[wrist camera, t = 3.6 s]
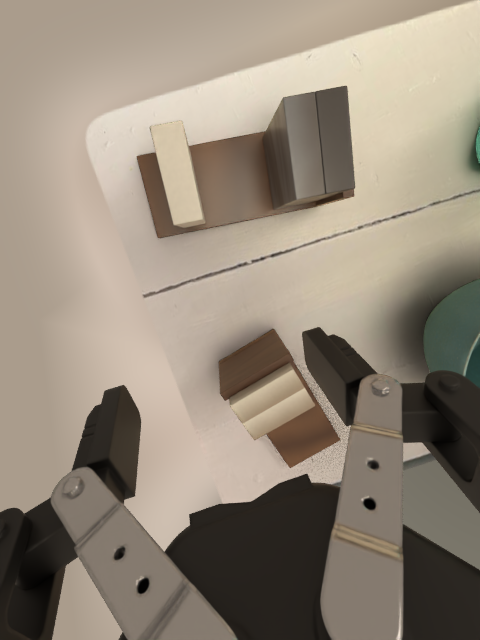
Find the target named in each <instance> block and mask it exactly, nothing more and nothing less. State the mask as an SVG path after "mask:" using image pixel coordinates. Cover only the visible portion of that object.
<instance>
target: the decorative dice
mask: <svg viewBox="0 0 480 640" xmlns="http://www.w3.org/2000/svg"><path fill="white" fill-rule="evenodd" d="M476 154H477V158H478V161H479V164H480V128H479V130H478V134H477V138H476Z"/></svg>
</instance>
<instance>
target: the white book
mask: <svg viewBox="0 0 480 640" xmlns="http://www.w3.org/2000/svg"><path fill="white" fill-rule="evenodd" d="M150 131H151V135H152V139H153V143H154V147H155V151H156V155H157V159H158V163H159V167H160V171H161V175H162V180H163V184H164V188H165V192H166V196H167V200H168V204H169V208H170V212H171V216H172V220H173V224H174V225H176V226H179V227H183V228H186V227H191V226H196V225H201V224H205V218H204V213H203V209H202V204H201V199H200V195H199V190H198V185H197V181H196V176H195V171H194V167H193V162H192V158H191V153H190V149H189V145H188V142H187V138H186V134H185V130H184V127H183V123H182V121H176V122H171V123H165V124H160V125H155V126H150Z"/></svg>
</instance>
